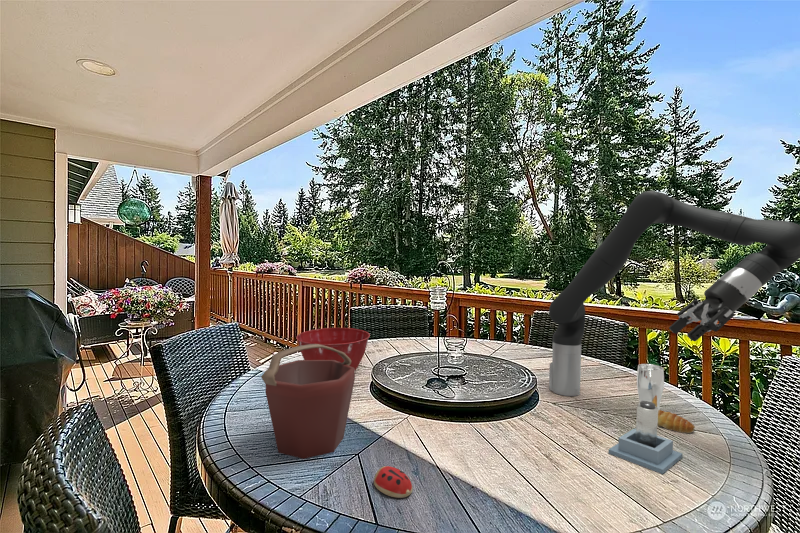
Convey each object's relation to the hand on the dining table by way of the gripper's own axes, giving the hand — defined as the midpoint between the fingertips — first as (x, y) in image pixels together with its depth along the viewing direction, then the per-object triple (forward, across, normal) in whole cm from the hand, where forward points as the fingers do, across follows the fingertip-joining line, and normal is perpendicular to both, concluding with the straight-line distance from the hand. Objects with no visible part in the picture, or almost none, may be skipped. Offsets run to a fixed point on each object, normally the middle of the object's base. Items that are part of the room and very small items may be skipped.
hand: (680, 334), depth 106 cm
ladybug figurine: (+69, +26, -28) cm, 79 cm away
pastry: (+17, -13, +24) cm, 32 cm away
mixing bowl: (+93, -49, -52) cm, 117 cm away
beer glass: (+19, -19, +22) cm, 35 cm away
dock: (+27, +6, +13) cm, 31 cm away
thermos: (+26, +6, +13) cm, 30 cm away
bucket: (+86, +8, -46) cm, 98 cm away
